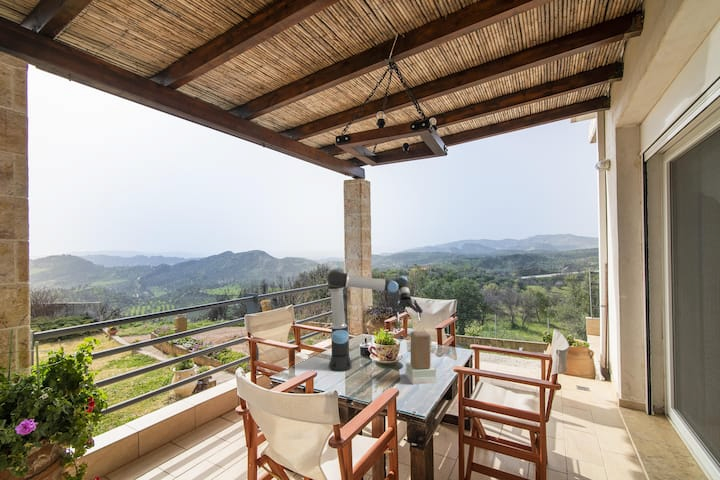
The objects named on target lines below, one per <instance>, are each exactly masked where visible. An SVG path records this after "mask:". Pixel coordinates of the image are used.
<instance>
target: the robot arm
mask: <svg viewBox="0 0 720 480" xmlns="http://www.w3.org/2000/svg"><path fill="white" fill-rule="evenodd" d="M408 280H409V279H408V278H407V276H405V275H400V276H397V278H382V279H380V278H373V277H366V276H357V275H350V274H349V273H345V272H342V271H341V269H337V268H335V269H331V270H330V271H329V272H327V275H326V281H327V289H328V291H330V299H331V300H330V301H331V312H332V324H333V325H331V338H330V339H331V357H330V359H329V364H328V368H329V370H330V371H335V372H345V371H349V370H351V369H352V368H353V364H352V360H351V357H350V334H349V327H348V324H347V323H346V315H345V303H344V293H343V290H344V289H346V288H347V287H351V288H358V289H366V290H374V291H375V290H376V291H383V292H390V293H396V292H397V291H398V293H399V300H398V299H396V300H395V305H394V307H393V308H392V312H391V313H392V314H394V315H395V318H396V320H397V324H400V315H399V314H400V313H399V311H400V310H401V309H402V308H403V307H404V308H410V309H412V310H413V311H414V312H415V313H416V318H417V323H418V324H419V323H420V322H421V319H420V318H421V317H422V316H421V315H422V314H423V309H422V308H421V306H420V305H419V304H418V303H417V300H416V299H414V300H412V297H411V291H410V285H409V281H408ZM399 304H400V305H399ZM398 305H399V306H398Z"/></svg>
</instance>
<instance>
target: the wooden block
mask: <svg viewBox="0 0 720 480" xmlns="http://www.w3.org/2000/svg"><path fill="white" fill-rule="evenodd" d="M431 347H432V345H431V334H430V333H428V332H427V331H426V330H425V331H423V330H420V331H419V330H416V331H414V330H413V331H412V330H411V332H410V363H411V364H412V366H413V367H414V368H415V369H427V368H430V367H431V366H432V365H431V364H432V363H431V360H432V359H431V356H432V354H431Z"/></svg>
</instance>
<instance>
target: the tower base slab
mask: <svg viewBox="0 0 720 480" xmlns="http://www.w3.org/2000/svg"><path fill="white" fill-rule="evenodd" d="M405 376H406V378H407V379H408V380H409V382H411V385H423V384H436V383H437V382H436V381H437V376H436V377H422V378H412V377H411V375H410V374H409V372H408V371H407V370H406V369H405Z"/></svg>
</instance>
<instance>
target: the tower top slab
mask: <svg viewBox="0 0 720 480" xmlns="http://www.w3.org/2000/svg"><path fill="white" fill-rule="evenodd" d="M405 367H406V368H405V371H406V370H407V371H408V372H409V374H410V375H411V377H412V378H422V377H436V378H437V376H436V375H437V374H436V369H435V368H434V367H433V365H431V367H430V368H427V369H415V368H414V367H413V366H412V364H411V362H405Z"/></svg>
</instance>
